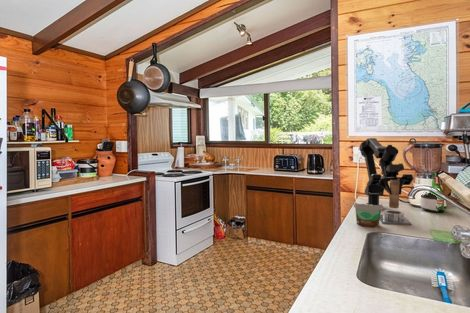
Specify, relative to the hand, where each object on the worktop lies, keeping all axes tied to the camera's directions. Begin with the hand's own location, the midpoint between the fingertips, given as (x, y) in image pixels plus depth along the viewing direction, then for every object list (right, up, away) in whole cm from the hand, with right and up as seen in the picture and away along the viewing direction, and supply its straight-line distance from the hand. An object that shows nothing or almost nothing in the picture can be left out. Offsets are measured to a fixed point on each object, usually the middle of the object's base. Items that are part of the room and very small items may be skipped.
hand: (395, 194), depth 144 cm
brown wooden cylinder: (0, -6, +2) cm, 7 cm away
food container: (-15, -14, -5) cm, 21 cm away
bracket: (0, -13, +2) cm, 13 cm away
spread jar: (+30, -11, +21) cm, 38 cm away
